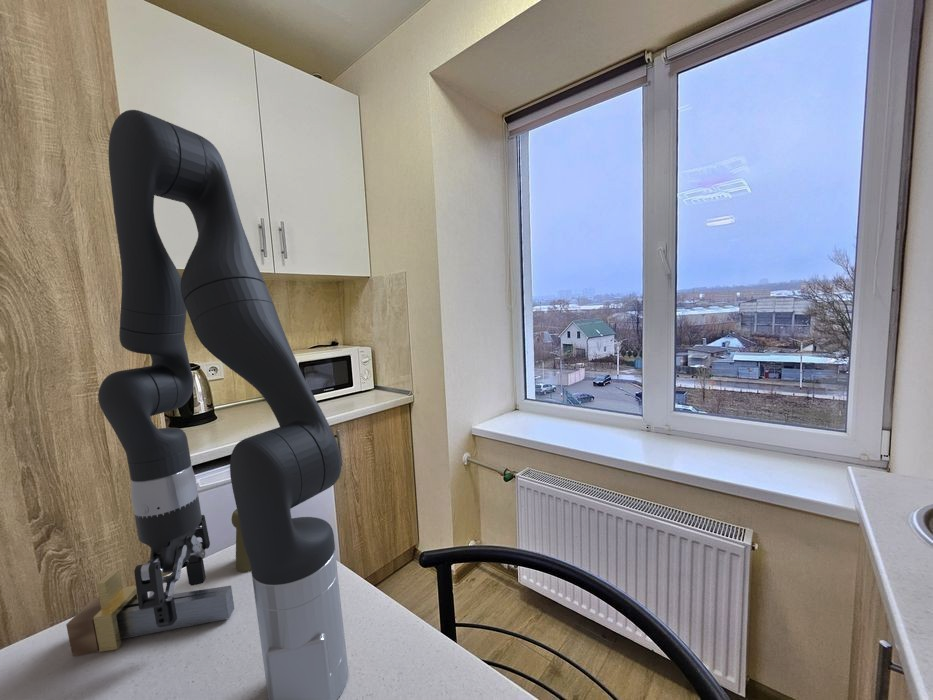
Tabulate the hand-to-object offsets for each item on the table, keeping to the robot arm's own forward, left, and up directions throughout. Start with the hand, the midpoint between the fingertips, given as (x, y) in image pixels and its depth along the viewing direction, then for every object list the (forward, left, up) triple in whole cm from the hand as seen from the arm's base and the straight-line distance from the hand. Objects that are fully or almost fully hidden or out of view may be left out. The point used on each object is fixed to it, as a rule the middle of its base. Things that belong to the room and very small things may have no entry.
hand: (183, 602), depth 59 cm
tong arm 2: (+1, +2, -3) cm, 4 cm away
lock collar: (+1, +9, -4) cm, 10 cm away
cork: (+14, -6, -4) cm, 16 cm away
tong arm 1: (0, +2, -3) cm, 4 cm away
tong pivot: (+2, +12, -4) cm, 13 cm away
